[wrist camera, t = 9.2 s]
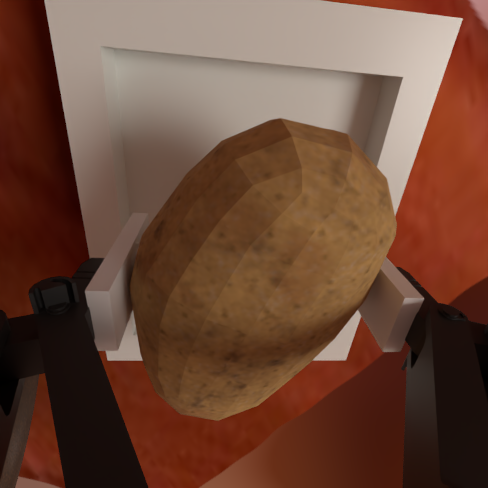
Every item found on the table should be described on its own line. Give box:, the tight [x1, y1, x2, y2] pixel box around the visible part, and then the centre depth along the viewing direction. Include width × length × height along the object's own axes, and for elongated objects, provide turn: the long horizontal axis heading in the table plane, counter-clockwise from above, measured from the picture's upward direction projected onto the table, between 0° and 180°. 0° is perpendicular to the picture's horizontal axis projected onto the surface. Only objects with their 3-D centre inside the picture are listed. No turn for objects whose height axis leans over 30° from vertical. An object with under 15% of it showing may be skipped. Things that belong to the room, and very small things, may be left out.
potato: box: [129, 118, 397, 421], centre depth 14 cm, size 10×14×8 cm
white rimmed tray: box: [44, 0, 463, 360], centre depth 19 cm, size 22×18×3 cm
